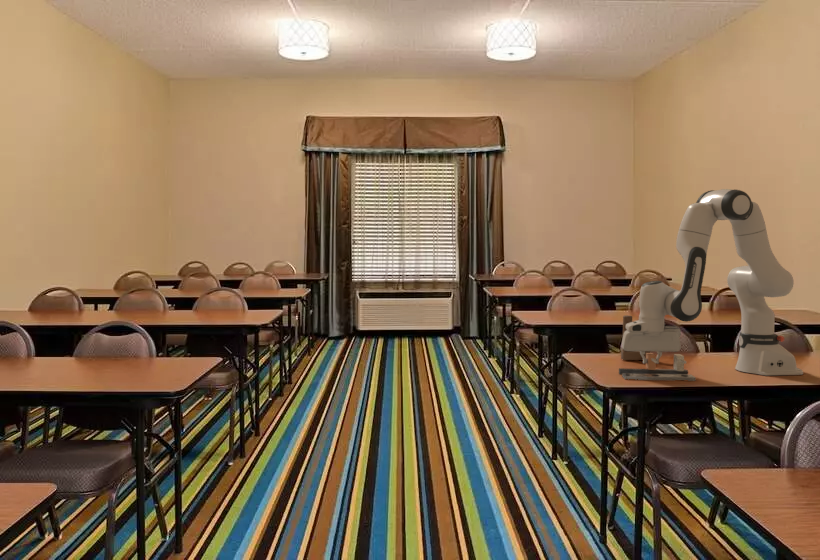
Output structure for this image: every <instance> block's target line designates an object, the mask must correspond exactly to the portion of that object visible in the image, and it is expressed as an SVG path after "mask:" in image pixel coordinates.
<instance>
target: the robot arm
mask: <svg viewBox="0 0 820 560" xmlns="http://www.w3.org/2000/svg"><path fill="white" fill-rule="evenodd" d="M681 219H682V220H681V221H680V224H679V228H678V231H677V235H676V241H675V242H676V243H675V247H676V250H677V252H678V254H679V255H680V256H681V258H682V260H683V261H684V273H683V279H682V283H681V289H680V290H678V289H676V288H673V287H671V286H669V285H667V284H666V283H664V282H663V281H662V280H653V281H651V280H650V281H647V282H644V283H643V284H641V287H640V291H639V300H638V307H639V315H638V320H635V321H632V322H630V323H627V324H626V329H627V330H626V331H625V332H624V334H623V333H622V339H621V348H623V349H624V350H625V351H640V355H641V356H642V358H643V361H642V364H645V365H646V364H648V359H647V358H645V356H644V355H643V354H645V351H650V352H656V354H657V355H656V360H657V363H656V365H657V364H659V363H660V360H659V359H661V357H662V356H663V352H669V353H670V352H671V353H672V352H674V353H675V352H676V353H677V352H680V350H681V339H680V337H681V336H682V332H681V328H680V327H679V326H677V325H665V318H666V316H671V317H673V318H676V319H677V320H678V321H681V322H691V321H694V320H696V319H697V318H698V317H699V316H700V314H702V313H701V312H702V309H703V303H702V293H701V292H702V286H703V281H704V275H705V270H706V264H707V253H708V249H709V245H710V241H711V237H712V232H713V229H714V228H713V227H714V225H715V224H716V222H717V221H726V220H727V221H729V222H730V224H731V229H732V235H733V240H734V246H735V251H736V253H737V256H738V257H740V258H741V260H743V261H745V263H746V264H747V265H741V266H737V267H733V268H732V269H731V270H730V271H729V273H728V275H727V279H726V281H727V283H726V284H727V285H728V288H729V289H730V290H731V292H733V294H734V296H735V297H736V299H737V301H738V304H739V308H740V314H741V315H740V316H741V317H740V321H741V322H740V323H741V325H740V326H741V327H740V332H739V339H738V340H739V341H738V344H739V352H738V357H737V361H736V364H735V367H734V369H735V370H737V371H739V372H743V373H747V374H749V373H750V374H754V375H755V374H756V375H760V376H797V375H798V376H799V375H803V374H804V371H803V370H802V369H800V368H799V367H797V360H796V357H795V356H794V354H792V353H791V352H790V351H789V350H787V349H786V348H785V347H783V346H782V345H781V344H780V342H784V340H785V336H783V335H777V334H776V333H775V323H776V322H775V320H776V319H775V318H776V317H775V316H776V315H775V312H774V311H773V309H772V308H771V307H769V305H768V303H767V302H766V298H779V297H785V296H787V295H789V294H790V293H791V292H792V290H793V288H794V284H795V283H794V278H793V274H792V273H791V272H790V271H789V270H788V269H786V268H785V267H783V266H782V264H781V263H780V262H779V261H778V259H777V258H776V256H775V254H774V253H773V250H772V248H771V245H770V239H769V236H768V231H767V226H766V222H765V219H764V216H763V213H762V210H761V207H760V205H759V204H758V203H756V202H754V201H752V199H751V197H750V196H749V194H748V193H747V192H746V191H743V190H740V189H728V188H726V189H725V188H722V189H717V190H713V189H712V190H707V191H705V192H703V193H702V194H701V195H699V197H698V198H697V200H696V202H695V203H691V204H689V205H688V207H687V208H686V210H685V212H684V214H683V216H682V218H681Z"/></svg>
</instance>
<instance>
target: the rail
mask: <svg viewBox="0 0 820 560" xmlns="http://www.w3.org/2000/svg"><path fill="white" fill-rule="evenodd" d="M686 364H687V360H685V355H683V354H682V353H681V354H680V353H673V367H672V368H667V369H666V368H656V370H648V369H647V368H618V374H619V375H622V373H631V374H688V373H689V370H688V369H685V367H684V366H685V365H686Z"/></svg>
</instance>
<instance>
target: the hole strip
mask: <svg viewBox="0 0 820 560" xmlns="http://www.w3.org/2000/svg"><path fill="white" fill-rule="evenodd" d="M621 375H622V376H621V377H622V378H623V379H624V380H626V379H628V381H630V380H629V379H635V380H634V381H675V380H688V381H687V382H696V378H697V377H695V376H694V375H693V374H691V373H690V374H631V373H622V374H621ZM637 379H638V380H637Z"/></svg>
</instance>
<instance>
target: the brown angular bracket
mask: <svg viewBox="0 0 820 560" xmlns="http://www.w3.org/2000/svg"><path fill="white" fill-rule="evenodd" d="M630 322H633V315H623V316H622V335H623V334H624V332H625V331H626V330H627V329H626V324H627V323H630ZM621 348H622V347H621ZM646 353H651V351H645V354H643V355H644V356H645V358H646ZM620 356H621V357H620V359H621V360H622V359H623V360H643V358H642V356H641V355H640V351H625V350H624V349H623V348H622V350H621V352H620ZM623 360H622V361H623Z"/></svg>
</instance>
